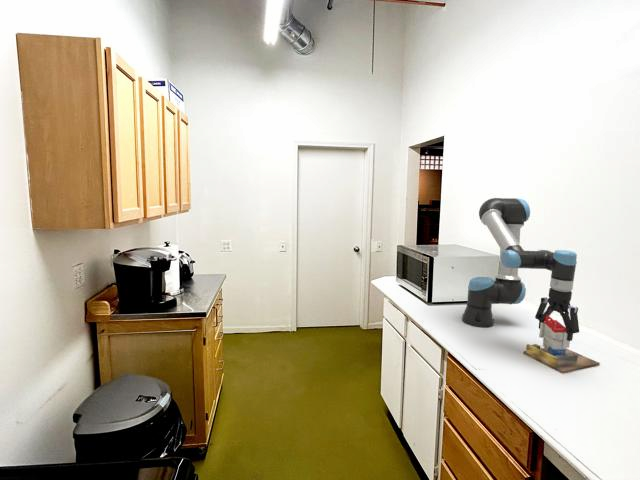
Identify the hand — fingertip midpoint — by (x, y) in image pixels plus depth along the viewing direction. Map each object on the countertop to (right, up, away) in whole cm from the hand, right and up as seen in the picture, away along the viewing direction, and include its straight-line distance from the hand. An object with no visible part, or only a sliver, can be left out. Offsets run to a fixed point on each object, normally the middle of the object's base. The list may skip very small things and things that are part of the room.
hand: (553, 342), depth 145 cm
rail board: (+4, -7, +1) cm, 8 cm away
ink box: (+1, -4, +1) cm, 4 cm away
